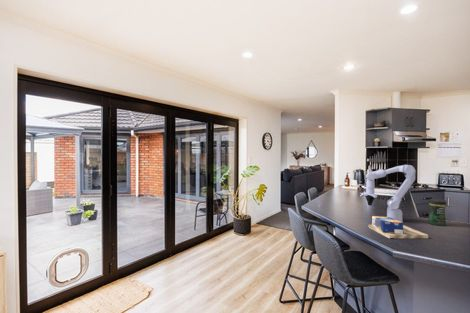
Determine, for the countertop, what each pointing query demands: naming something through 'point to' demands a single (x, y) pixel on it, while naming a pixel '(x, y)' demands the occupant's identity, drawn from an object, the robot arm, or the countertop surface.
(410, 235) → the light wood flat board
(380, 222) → the beverage box
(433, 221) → the coffee jar
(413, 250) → the countertop surface
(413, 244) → the countertop surface
